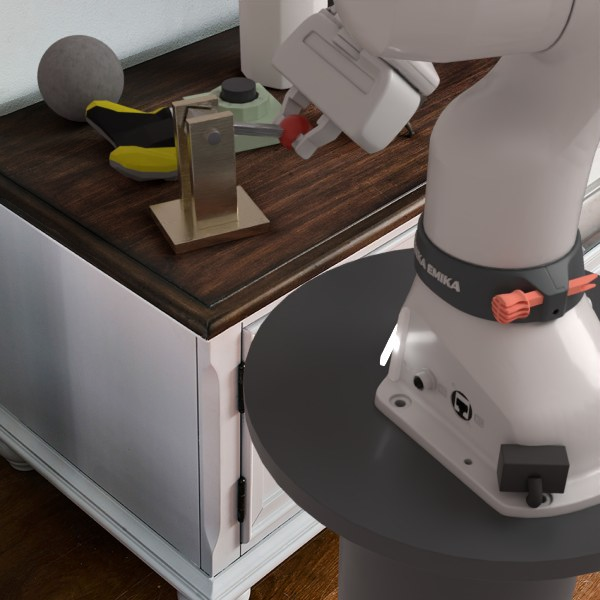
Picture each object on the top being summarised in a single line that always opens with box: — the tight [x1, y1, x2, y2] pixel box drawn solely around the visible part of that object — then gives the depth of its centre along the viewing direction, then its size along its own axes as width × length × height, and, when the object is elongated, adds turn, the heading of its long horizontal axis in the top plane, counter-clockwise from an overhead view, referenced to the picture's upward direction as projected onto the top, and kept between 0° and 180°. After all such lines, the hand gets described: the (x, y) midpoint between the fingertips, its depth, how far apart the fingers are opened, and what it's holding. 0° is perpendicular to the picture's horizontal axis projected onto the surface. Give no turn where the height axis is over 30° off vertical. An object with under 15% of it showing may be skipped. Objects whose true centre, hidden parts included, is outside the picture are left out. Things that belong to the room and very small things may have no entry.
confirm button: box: [220, 77, 256, 104], centre depth 120 cm, size 4×4×2 cm
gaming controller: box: [86, 101, 178, 182], centre depth 114 cm, size 15×6×10 cm
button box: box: [182, 83, 282, 154], centre depth 121 cm, size 12×10×4 cm
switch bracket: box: [149, 94, 271, 255], centre depth 101 cm, size 10×8×13 cm
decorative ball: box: [36, 34, 125, 123], centre depth 122 cm, size 10×10×10 cm
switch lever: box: [184, 108, 314, 152], centre depth 101 cm, size 13×4×4 cm, turn 114°
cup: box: [238, 0, 329, 91], centre depth 130 cm, size 11×11×18 cm
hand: (287, 143), depth 104 cm, fingers closed on switch lever, 3 cm apart
